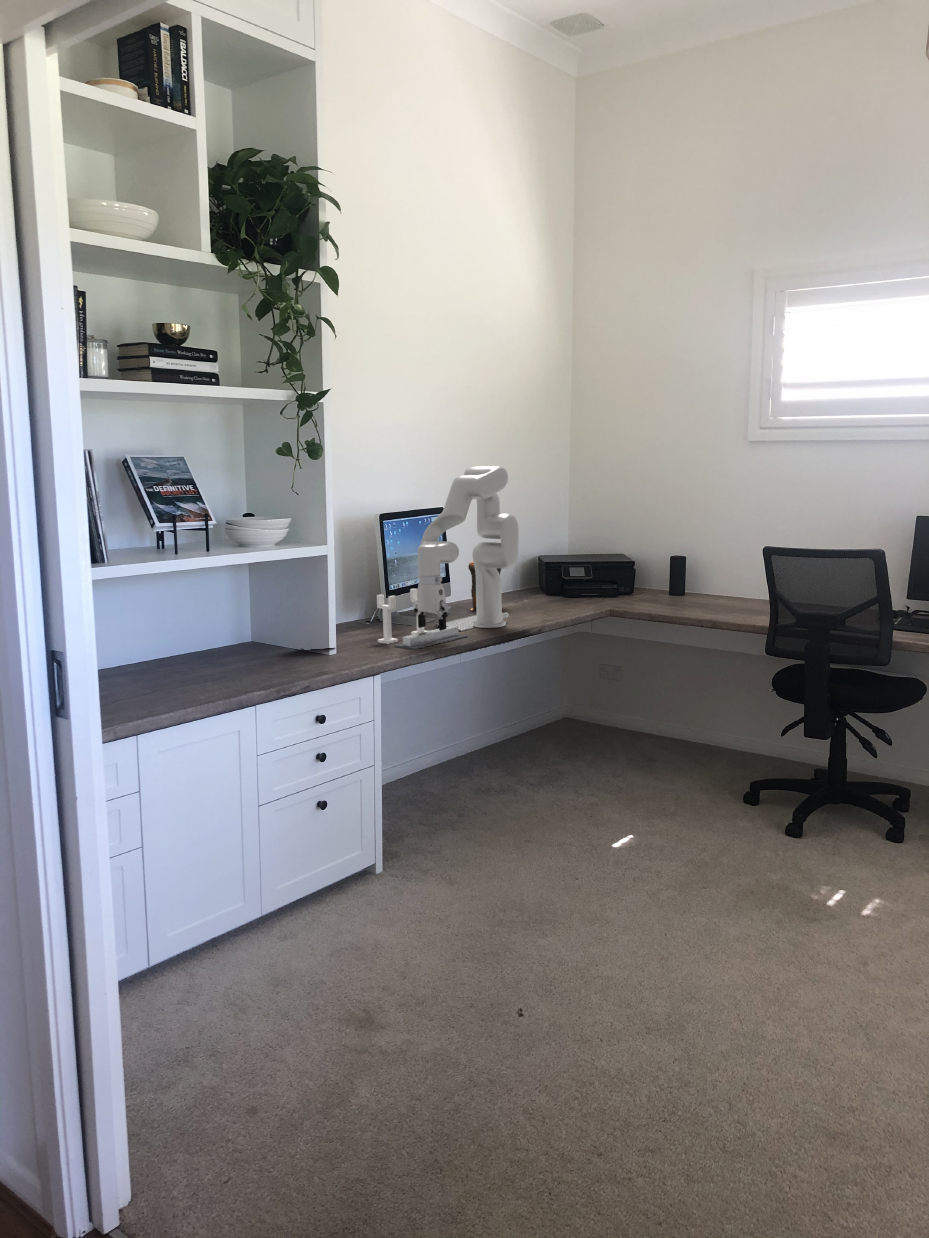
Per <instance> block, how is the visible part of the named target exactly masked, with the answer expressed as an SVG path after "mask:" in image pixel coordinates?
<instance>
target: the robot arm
mask: <svg viewBox="0 0 929 1238" xmlns="http://www.w3.org/2000/svg"><path fill="white" fill-rule="evenodd" d="M508 481H509V474H508V471H507V470H506V468H504V467H502V466H500V465H485V466H484V465H478V466H477V465H476V466H471V467H468V468H466V469H465V470H464V473H463V475H459V476H457V477H455V478H454V479H453V480H452V483H451V485H450V488H449V491H448V495H447V497H446V501H445V504H444V507H443V510H442V512H441V513H440V514H438V516H436V517H435V518H434V519H433V521H432V522H431V523H430V524H429V525H428V526H427V527H426V528H425V531H424V532H423V535H422V539H421V541H420V545H418V547H417V563H418V564H417V565H418V586H417V601H415V602H412V603H411V605H412V607H413V612H414V613H415V616H418V627H419V628H421V627H426V624H427V622H426V615H425V614H426V613H428V614H436V615H437V616H438V629H439V630H440V631H442V630H445V629H446V627H447V619H448V616H449V615H450V612H451V609H452V606H451V605H449V604H448V603H447V598H446V591H445V588H444V584H443V583H442V581H443V577H442V576H441V564H452V563H453V562H455V561H456V560H457V559H458V557H459V555H460V549H459V547H458V545H457V544H455V543H454V542H452V541H443V540H442V541H441V540H438V539H439V538H440V537H441V536H442V534H444V533H445V532H446V531H448V530H450V529H452V528H454V527H456V526H459V525H460V524H462V523H464V522H465V521H466V518H467V515H468V512H469V509H470V505H471V503H472V500H476V531H477V534H478V536H479V537H481V538H483V539H491V540H492V539H494V540H500V542H492V541H491V542H488V541H487V542H486V541H483V542H480V543H479V542H478V543H477V544H476V545H474V547H473V549H472V562H474V566H475V573H476V608H477V612H476V620H475V621H473V622H472V626H473V627H474V626H475V627H474V628H481V629H494V628H495V629H496V628H503V627H504V626H505V627H506V625H507V622H506V621H505V620H504V619H506V618H509V615H510V614H509V613H508V612H503V611H502V610H503V609H502V607H503V606H502V604H503V603H502V579H501V573H500V574H499V572H498V571H497V569H496V568H502V569H503V570H504V569H505V570H506V569H507V570H509V569H512V568H514V567H515V566H516V565H517V562H518V559H519V533H520V531H519V523H518V520H517V518H516V516H514V514H512V513H508V512H507V513H506V512H504V513H503V512H502V513H501V507H500V506H501V504H500V503H501V502H500V497H499V495H498V493H499V492H500V491H502V490H503V489H504V488H505V487H506V486H507V484H508ZM502 569H501V570H502Z"/></svg>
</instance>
